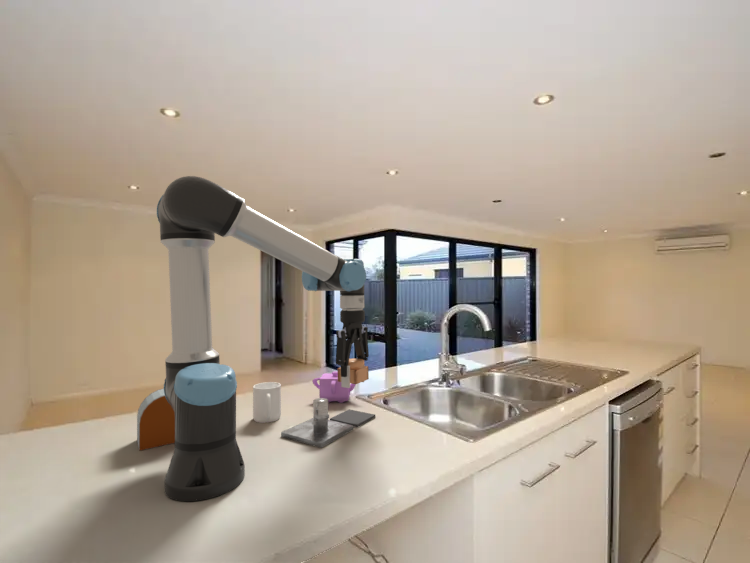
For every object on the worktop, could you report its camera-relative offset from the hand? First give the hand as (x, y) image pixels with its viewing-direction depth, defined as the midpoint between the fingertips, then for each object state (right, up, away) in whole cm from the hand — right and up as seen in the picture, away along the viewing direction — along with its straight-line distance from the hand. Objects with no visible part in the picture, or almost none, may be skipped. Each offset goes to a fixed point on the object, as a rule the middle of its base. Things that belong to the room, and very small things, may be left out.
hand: (353, 384), depth 114 cm
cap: (0, +1, 0) cm, 1 cm away
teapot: (-7, -11, +19) cm, 23 cm away
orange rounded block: (-48, -11, -14) cm, 52 cm away
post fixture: (-8, -10, -12) cm, 18 cm away
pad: (0, -11, 0) cm, 11 cm away
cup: (-26, -11, -1) cm, 28 cm away
